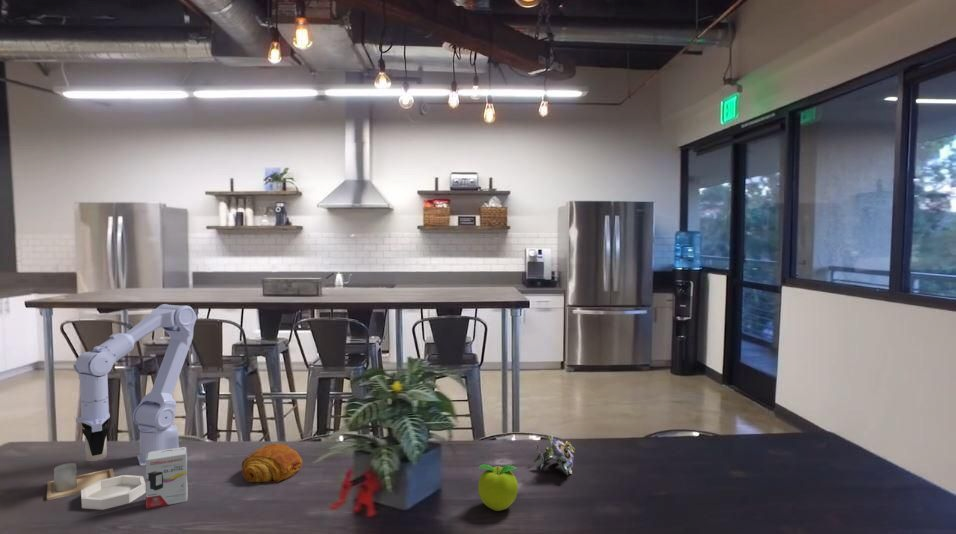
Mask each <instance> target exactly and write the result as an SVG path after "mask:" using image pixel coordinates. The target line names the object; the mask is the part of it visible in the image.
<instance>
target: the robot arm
mask: <svg viewBox="0 0 956 534" xmlns="http://www.w3.org/2000/svg"><path fill="white" fill-rule="evenodd" d="M197 319H198V316H197V314H196V313H195V310H194V309H193V307H191V306H190V305H187V304H186V305H176V304H175V305H174V304H168V303H164V304H160V305H159V306H157V307H156V308H154V309H152V310H151V312H150V313H149V315H147V316H146V317H145V318H144V319H141V321H139V322H138V323H137V324H136V325H134V326H133V327H132V328H131V329H129V330H127V331H126V332H125V333H123V332H118V333H113V334H111V335H109V339H107V340H105V342H103V343H101V344H99V345H96V346H94V347H93V350H92V351H85V352H82V353H81V354H80V355H79V356H78V357H77V358H76V360H75V364H74V363H73V370H74V371H75V373H77V374H78V379H79V386H80V387H79V389H80V391H79V392H80V410H81V411H80V413H81V415H80V417H77V418H75V423H76V424H77V423H81V426H82V430H81V431H82V435H83V436H84V438H87V440H88V443H89V447H90V451H91V454H92V456H95V455H100V454H102V453H103V448H104V443H105V438H106V439H107V435H108V433H109V431H110V430H111V426H110V425H107V424H108V423H109V419H110V417H111V415H110V414H111V413H110V405H109V384H108V383H109V382H108V379H109V378H108V377H109V376H108V374H109V373H110V372H111V370H112V369H113V366H114V364H115V363H117V362H118V361H119V360H121V359H122V358H124V357H125V356H126V355H127V354H129V353H130V352H132V351H133V350H134V349H135V348H134V347H135V343H137V342H139V341H140V340H142V339H143V338H145V337H146V336H148V335H150V334H151V333H153V332H154V331H155V330H157V329H159V328H161V329H163V330H164V332H165V333H167V335H168V336H169V338H170V340H169V343H168V345H167V348H166V350H165V354H164V356H163V359H162V361H161V364H160V367H159V369H158V372H157V374H156V377H155V380H154V383H153V385H152V388H151V390H150V392H149V393H147V394H145V395H144V396H143V397H142V398H141V401H140V402H139V403H138V405H137V406H136V407H135V409H134V410H133V413H132V420H133V422H134V424H135V425H137V429H138V430H139V454H138V455H137V456H136V457H137V459H138V463H139V466H141V467H143V466H146V454H147V453H149V452H152V451H159V450H166V449H173V448H180V445H179V443H180V442H179V430H178V425H177V424H173V423H174V421H175V418H176V407H177V404H178V403H177V402H176V400H175V399H174V396H173V394H174V391H175V388H176V386H177V383H178V380H179V377H180V375H181V372H182V369H183V367H184V363H185V361H186V358H187V356H188V353H189V349H190V347H191V344H192V342H193V338H194V327H195V324H196V321H197Z"/></svg>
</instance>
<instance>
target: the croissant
mask: <svg viewBox="0 0 956 534" xmlns="http://www.w3.org/2000/svg"><path fill="white" fill-rule="evenodd" d="M302 465H303V458H302V457H301V455H300V454H299V453H298V452H297V451H296V450H295V449H293V448H291V447H290V446H288V444H284V443H283V444H282V443H270V444H266V445H263V446H261V447H260V448H259V449H257V450H254V451H252V452H251V453H250V454H249V455H248V456H246V457H245V458H244V460H243V461H242V463H241V474H242V476H243V478H244V479H245V480H246V481H247V482H250V483H263V482H264V483H268V482H272V483H278V482H279V483H280V482H281V481H284V480H287V479H288V478H290V477H292V476H294V475H296V473H298V472H299V470H300V469H301V468H302Z"/></svg>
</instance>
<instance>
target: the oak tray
mask: <svg viewBox="0 0 956 534" xmlns="http://www.w3.org/2000/svg"><path fill="white" fill-rule="evenodd" d="M113 477H115V473H114V469H113V468H107V469H103V470H99V471H93V472H89V473H85V474H79V475H77V487H76V488H74V489H72V490H69V491H65V492H55V487H54V480H51V481H47V489H46V501H52V500H55V499H60V498H64V497H70V496H74V495H78V494H81V490H82V489H84V488H86V487H88V486H90V485H92V484H93V483H95V482H97V481H99V480H104V479H108V478H113Z"/></svg>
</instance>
